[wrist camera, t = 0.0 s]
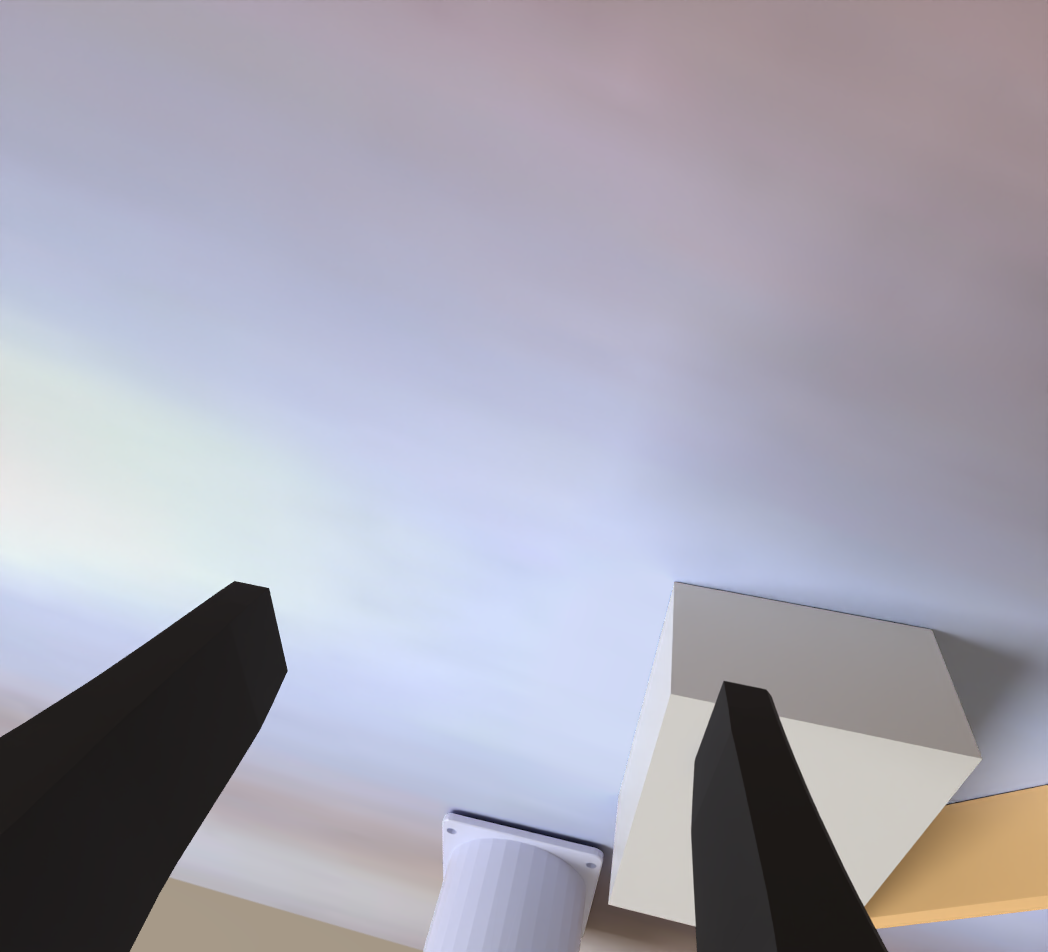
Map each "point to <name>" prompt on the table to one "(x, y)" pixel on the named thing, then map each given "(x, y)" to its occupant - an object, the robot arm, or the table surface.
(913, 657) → the white knobbed box
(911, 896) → the side door
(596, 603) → the table surface
